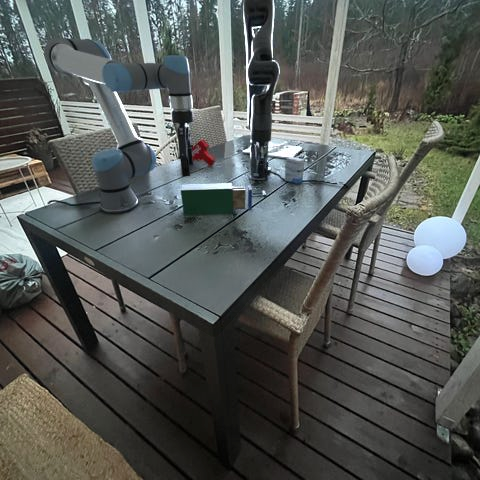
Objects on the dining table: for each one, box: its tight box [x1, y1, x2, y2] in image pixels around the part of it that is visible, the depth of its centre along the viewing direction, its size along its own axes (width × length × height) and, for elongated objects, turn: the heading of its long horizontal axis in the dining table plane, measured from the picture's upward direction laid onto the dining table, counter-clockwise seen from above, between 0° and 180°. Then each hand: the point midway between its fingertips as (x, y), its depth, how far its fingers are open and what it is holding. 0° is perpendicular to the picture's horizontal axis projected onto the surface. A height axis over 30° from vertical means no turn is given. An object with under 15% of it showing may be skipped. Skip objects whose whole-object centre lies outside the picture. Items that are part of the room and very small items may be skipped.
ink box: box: [284, 156, 306, 185], centre depth 140 cm, size 8×5×12 cm, turn 47°
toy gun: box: [183, 138, 216, 167], centre depth 167 cm, size 18×4×15 cm
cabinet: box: [180, 182, 234, 216], centre depth 112 cm, size 20×6×11 cm, turn 94°
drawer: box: [233, 184, 267, 211], centre depth 112 cm, size 25×5×9 cm, turn 94°
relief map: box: [242, 139, 304, 160], centre depth 192 cm, size 27×35×5 cm
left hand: (188, 170), depth 105 cm, fingers open, 13 cm apart
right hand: (259, 173), depth 107 cm, fingers closed
